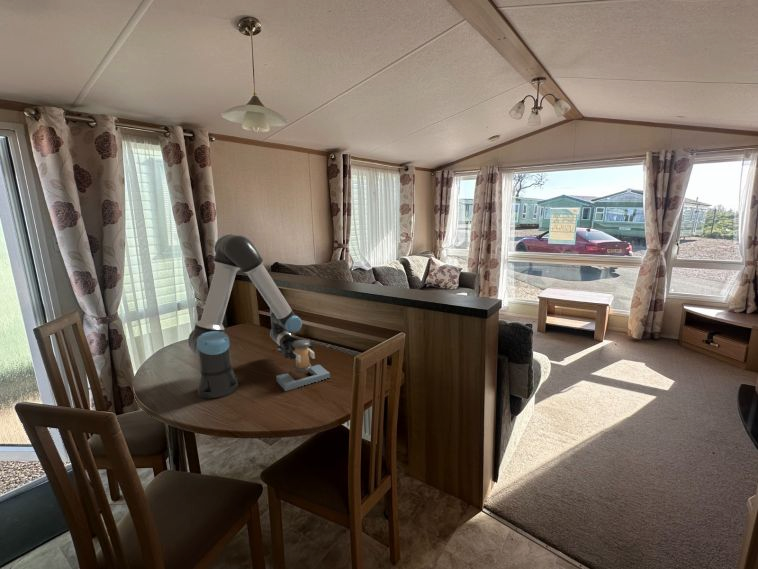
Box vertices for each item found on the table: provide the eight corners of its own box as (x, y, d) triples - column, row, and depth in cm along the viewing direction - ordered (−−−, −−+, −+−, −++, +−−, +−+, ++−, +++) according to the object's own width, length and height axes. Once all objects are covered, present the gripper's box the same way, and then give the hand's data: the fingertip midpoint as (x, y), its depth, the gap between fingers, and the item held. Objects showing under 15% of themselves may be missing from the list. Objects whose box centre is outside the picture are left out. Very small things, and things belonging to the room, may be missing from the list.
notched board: (285, 391, 144) (285, 385, 144) (276, 381, 153) (276, 375, 153) (330, 378, 155) (329, 373, 155) (319, 369, 164) (319, 364, 163)
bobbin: (298, 374, 149) (296, 347, 147) (292, 368, 155) (290, 342, 153) (314, 369, 153) (312, 343, 151) (307, 363, 159) (305, 338, 157)
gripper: (306, 344, 173) (327, 360, 154) (268, 353, 163) (285, 371, 144) (305, 330, 172) (326, 344, 153) (266, 338, 162) (284, 354, 143)
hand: (306, 357), depth 149 cm, fingers closed on bobbin, 5 cm apart
